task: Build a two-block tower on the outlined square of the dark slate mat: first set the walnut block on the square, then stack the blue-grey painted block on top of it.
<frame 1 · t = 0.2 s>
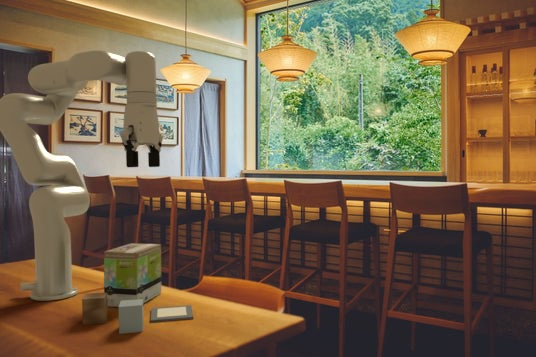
hand: (143, 167, 124), 37 cm above the table, tool pointing down, fingers open, 9 cm apart
tea box: (134, 300, 132), on the table
slate mat: (171, 314, 119), on the table
walnut block: (95, 320, 115), on the table
blue-grey block: (131, 329, 109), on the table
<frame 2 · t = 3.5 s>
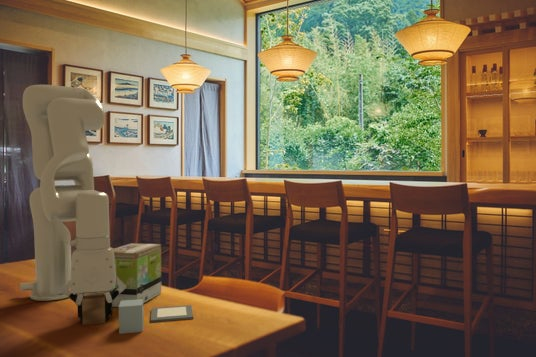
hand: (95, 318, 115), 0 cm above the table, tool pointing down, fingers closed on walnut block, 5 cm apart
walnut block: (95, 320, 115), on the table, touching gripper
everything else where it was.
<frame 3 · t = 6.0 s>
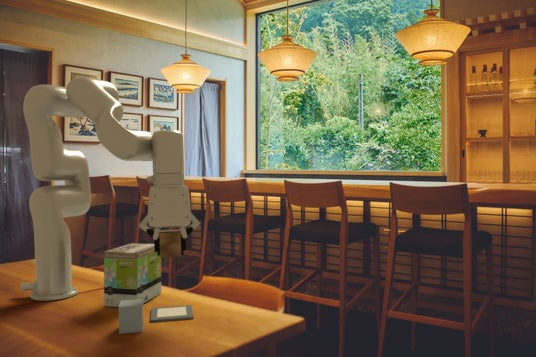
hand: (170, 253, 118), 15 cm above the table, tool pointing down, fingers closed on walnut block, 5 cm apart
walnut block: (170, 255, 118), point 15 cm above the table, touching gripper
everything else where it was.
when the fingers open (2 cm above the table, at t = 8.7 s): walnut block stays where it is, resting on slate mat.
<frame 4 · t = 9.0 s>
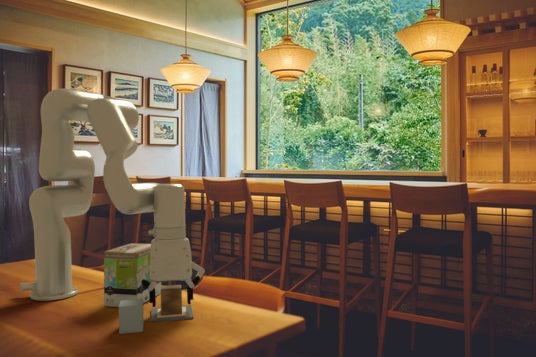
hand: (171, 303, 119), 3 cm above the table, tool pointing down, fingers open, 8 cm apart
walnut block: (171, 311, 119), point 1 cm above the table, touching slate mat
everything else where it was.
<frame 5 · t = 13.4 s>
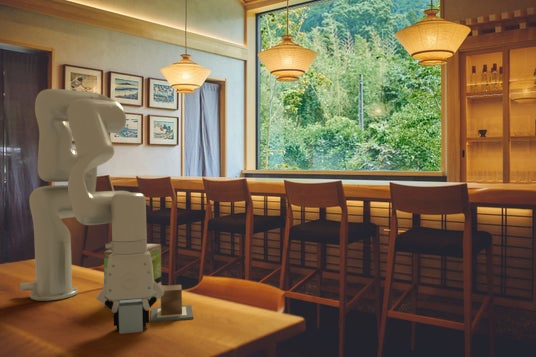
hand: (131, 326, 109), 0 cm above the table, tool pointing down, fingers closed on blue-grey block, 5 cm apart
blue-grey block: (131, 328, 109), on the table, touching gripper
everything else where it was.
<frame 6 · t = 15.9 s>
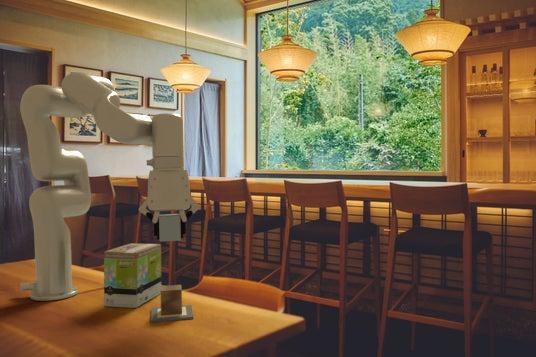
hand: (170, 237, 118), 19 cm above the table, tool pointing down, fingers closed on blue-grey block, 5 cm apart
blue-grey block: (170, 239, 118), point 19 cm above the table, touching gripper
everything else where it was.
when the fingers open (8 cm above the table, at t = 18.7 s): blue-grey block drops 1 cm, resting on walnut block.
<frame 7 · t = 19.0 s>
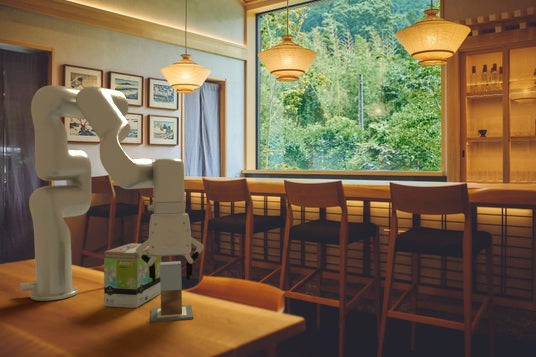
hand: (171, 279, 118), 9 cm above the table, tool pointing down, fingers open, 7 cm apart
walnut block: (171, 311, 119), point 1 cm above the table, touching blue-grey block, slate mat
blue-grey block: (171, 287, 119), point 7 cm above the table, touching walnut block
everything else where it was.
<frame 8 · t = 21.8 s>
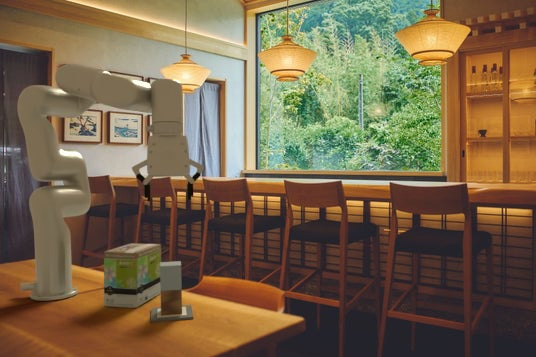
hand: (169, 200, 118), 28 cm above the table, tool pointing down, fingers open, 9 cm apart
nothing on the table moved.
at the end: walnut block 0.1 cm off-centre on the slate mat, point 0.6 cm above the slate mat's base; blue-grey block 0.0 cm off-centre on the walnut block, point 6.0 cm above the walnut block's base; blue-grey block tilted 0° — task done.
